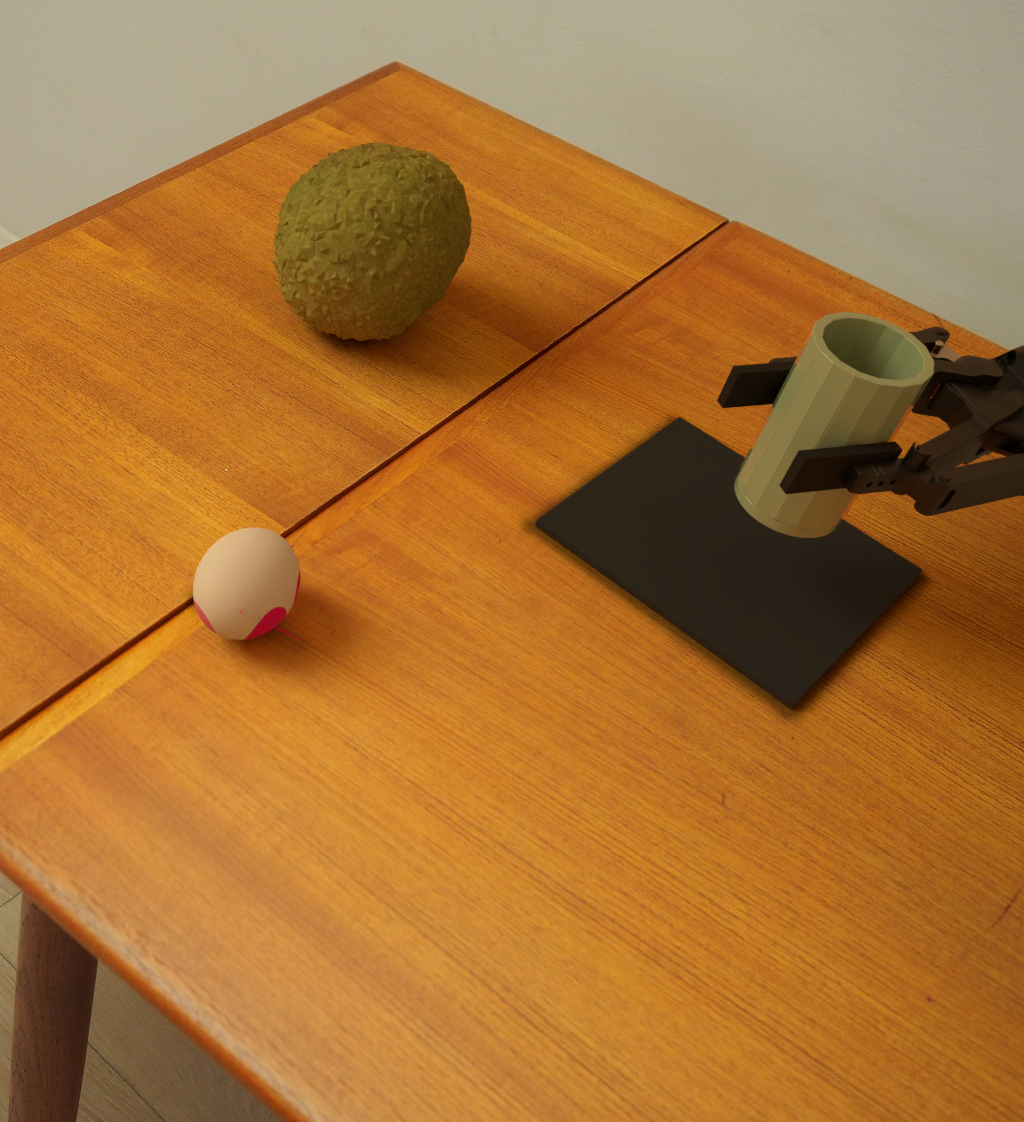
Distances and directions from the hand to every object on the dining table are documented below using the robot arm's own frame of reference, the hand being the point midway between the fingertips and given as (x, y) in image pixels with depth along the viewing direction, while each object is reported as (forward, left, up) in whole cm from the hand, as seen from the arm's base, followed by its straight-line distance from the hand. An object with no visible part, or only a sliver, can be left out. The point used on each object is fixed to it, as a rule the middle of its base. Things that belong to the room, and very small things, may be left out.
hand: (759, 428), depth 75 cm
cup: (-2, -4, -6) cm, 8 cm away
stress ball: (+16, +25, -13) cm, 32 cm away
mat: (0, -5, -13) cm, 14 cm away
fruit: (+34, -4, -13) cm, 36 cm away
